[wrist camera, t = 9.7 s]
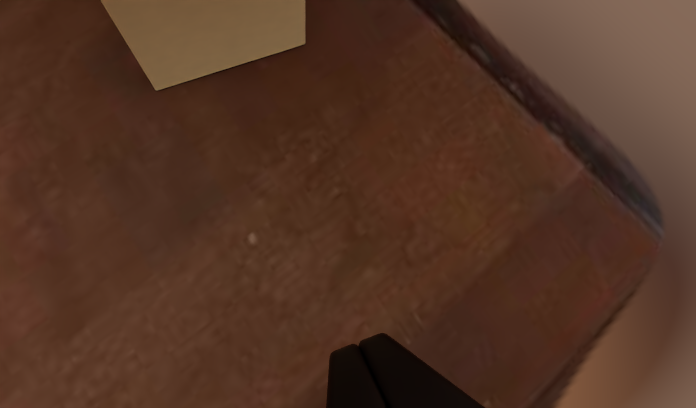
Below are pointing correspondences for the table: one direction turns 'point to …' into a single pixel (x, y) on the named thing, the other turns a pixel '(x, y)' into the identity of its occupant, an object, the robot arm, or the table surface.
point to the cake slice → (204, 34)
